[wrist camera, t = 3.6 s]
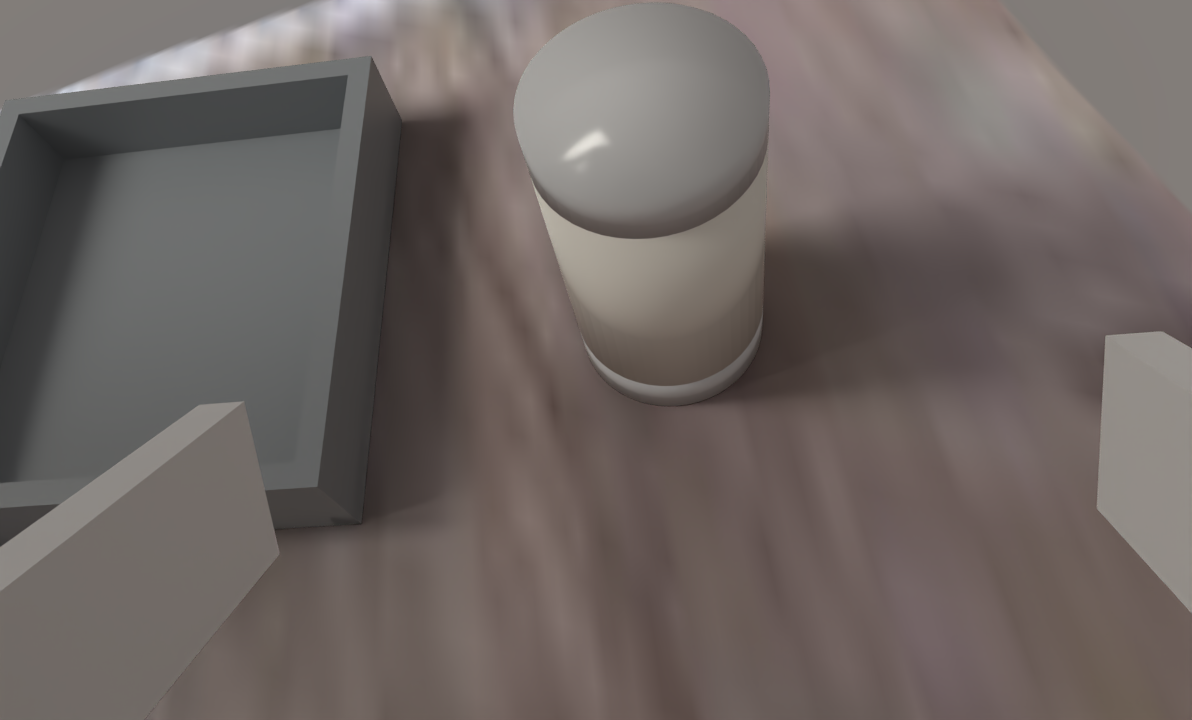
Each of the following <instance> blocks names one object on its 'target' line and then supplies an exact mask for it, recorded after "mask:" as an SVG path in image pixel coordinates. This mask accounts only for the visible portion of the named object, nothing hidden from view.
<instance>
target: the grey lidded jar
mask: <svg viewBox="0 0 1192 720" xmlns="http://www.w3.org/2000/svg"><path fill="white" fill-rule="evenodd" d="M769 104H770V88H769V78H768V73H767V69H766V66H765V64H764V62H763V59H762V57H761V55H760V53H759V52H758V50H757V49H756V47H755V45H754V44H753V43H752V42H751V41H750V40H749V39H748V37H747V36H746V35H745V34H743V33H742V32H741V31H740V30H739V29H738V28H736V27H735V26H734V25H732V24H731V23H729V22H727V21H726V20H724V19H722V18H720V17H718V16H716V15H714V14H712V13H710V12H707V11H704V10H701V9H698V8H694V7H690V6H685V5H680V4H672V3H638V4H630V5H624V6H619V7H615V8H611V9H608V10H604V11H601V12H598V13H596V14H593V15H590V16H588V17H586V18H584V19H582V20H580V21H578V22H576V23H574V24H572V25H571V26H569V27H567V28H566V29H564V30H563V31H561V32H560V33H559V34H557V35H556V36H555V37H553V38H552V39H551V40H550V41H549V42H548V43H546V44H545V45H544V46H543V47H542V48H541V49H540V50H539V52H538V53H537V54H536V55H535V56H534V58H533V59H532V60H531V61H530V63H529V65H528V66H527V68H526V69H525V71H524V73H523V75H522V77H521V80H520V82H519V84H518V87H517V91H516V94H515V99H514V108H513V113H514V124H515V129H516V133H517V137H518V140H519V143H520V146H521V149H522V152H523V155H524V158H525V162H526V165H527V168H528V171H529V174H530V177H531V180H532V183H533V186H534V190H535V193H536V196H537V199H538V202H539V205H540V208H541V211H542V214H543V217H544V221H545V224H546V227H547V230H548V233H549V236H550V239H551V242H552V245H553V249H554V252H555V255H556V258H557V261H558V264H559V267H560V270H561V273H562V277H563V280H564V283H565V286H566V289H567V292H568V295H569V298H570V301H571V304H572V308H573V311H574V314H575V317H576V320H577V323H578V326H579V329H580V332H581V336H582V339H583V342H584V345H585V348H586V351H587V354H588V356H589V359H590V361H591V363H592V365H593V366H594V368H595V370H596V371H597V372H598V374H599V375H600V376H601V377H602V379H603V380H604V381H606V382H607V383H608V384H609V385H610V386H611V387H612V388H614V389H615V390H617V391H618V392H619V393H621V394H623V395H625V396H627V397H629V398H631V399H634V400H637V401H639V402H643V403H647V404H651V405H659V406H680V405H688V404H692V403H696V402H700V401H703V400H705V399H708V398H710V397H713V396H715V395H717V394H718V393H720V392H722V391H724V390H725V389H726V388H728V387H729V386H731V385H732V384H733V383H734V382H735V381H736V380H738V379H739V378H740V377H741V376H742V375H743V373H744V372H745V371H746V370H747V368H748V367H749V366H750V364H751V362H752V361H753V359H754V357H755V355H756V353H757V350H758V348H759V344H760V341H761V335H762V325H763V294H764V262H765V230H766V199H767V167H768V135H769Z"/></svg>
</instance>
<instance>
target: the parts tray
mask: <svg viewBox="0 0 1192 720" xmlns="http://www.w3.org/2000/svg"><path fill="white" fill-rule="evenodd" d="M401 125H402V120H401V118H400V115H399V113H398V111H397V109H396V107H395V105H394V103H393V101H392V99H391V97H390V94H389V92H388V90H387V88H386V86H385V84H384V82H383V80H382V78H381V75H380V73H379V71H378V69H377V67H376V65H375V63H374V61H373V59H372V56H367V57H359V58H350V59H342V60H334V61H326V62H317V63H309V64H301V65H293V66H285V67H276V68H268V69H260V70H252V71H243V72H235V73H227V74H219V75H210V76H202V77H194V78H186V79H178V80H169V81H161V82H153V83H145V84H136V85H128V86H120V87H112V88H104V89H95V90H87V91H79V92H71V93H62V94H54V95H46V96H38V97H30V98H21V99H13V100H6V101H5V103H4V105H3V108H2V111H1V114H0V546H2V545H4V544H5V543H7V542H8V541H9V540H11V539H12V538H14V537H15V536H16V535H18V534H19V533H21V532H22V531H23V530H25V529H26V528H28V527H29V526H30V525H32V524H33V523H35V522H36V521H37V520H39V519H40V518H42V517H43V516H44V515H46V514H47V513H49V512H50V511H51V510H53V509H54V508H56V507H57V506H58V505H60V504H61V503H63V502H64V501H65V500H67V499H68V498H70V497H71V496H72V495H74V494H75V493H77V492H78V491H79V490H81V489H82V488H84V487H85V486H86V485H88V484H89V483H91V482H92V481H93V480H95V479H96V478H98V477H99V476H100V475H102V474H103V473H105V472H106V471H107V470H109V469H110V468H112V467H113V466H114V465H116V464H117V463H119V462H120V461H121V460H123V459H124V458H126V457H127V456H128V455H130V454H131V453H133V452H134V451H135V450H137V449H138V448H139V447H141V446H142V445H144V444H145V443H146V442H148V441H149V440H151V439H152V438H153V437H155V436H156V435H158V434H159V433H160V432H162V431H163V430H165V429H166V428H167V427H169V426H170V425H172V424H173V423H174V422H176V421H177V420H179V419H180V418H181V417H183V416H184V415H186V414H187V413H188V412H190V411H191V410H193V409H194V408H195V407H197V406H198V405H203V404H216V403H229V402H242V401H244V403H245V407H246V412H247V416H248V420H249V425H250V429H251V433H252V437H253V442H254V446H255V450H256V454H257V459H258V463H259V467H260V471H261V476H262V480H263V484H264V488H265V493H266V497H267V501H268V506H269V510H270V514H271V518H272V523H273V527H274V529H285V528H301V527H317V526H334V525H350V524H361V523H362V513H363V503H364V493H365V483H366V474H367V464H368V454H369V444H370V434H371V424H372V414H373V404H374V394H375V384H376V374H377V364H378V354H379V344H380V334H381V324H382V314H383V304H384V294H385V284H386V275H387V265H388V255H389V245H390V235H391V225H392V215H393V205H394V195H395V185H396V175H397V165H398V155H399V145H400V135H401Z"/></svg>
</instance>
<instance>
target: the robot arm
mask: <svg viewBox="0 0 1192 720" xmlns="http://www.w3.org/2000/svg"><path fill="white" fill-rule="evenodd" d="M1097 509H1098V510H1099V512H1100V513H1101V514H1102V515H1103V516H1104V517H1105V518H1106V519H1107V520H1108V521H1109V523H1110V524H1111V525H1112V526H1113V527H1114V528H1115V529H1116V530H1117V531H1118V532H1119V534H1120V535H1121V536H1122V537H1123V538H1124V539H1125V540H1126V541H1127V542H1128V544H1129V545H1130V546H1131V547H1132V548H1133V549H1134V550H1135V551H1136V552H1137V553H1138V555H1139V556H1140V557H1141V558H1142V559H1143V560H1144V561H1145V562H1146V563H1147V564H1148V566H1149V567H1150V568H1151V569H1152V570H1153V571H1154V572H1155V573H1156V574H1157V576H1158V577H1159V578H1160V579H1161V580H1162V581H1163V582H1164V583H1165V584H1166V585H1167V587H1168V588H1169V589H1170V590H1171V591H1172V592H1173V593H1174V594H1175V595H1176V597H1177V598H1178V599H1179V600H1180V601H1181V602H1182V603H1183V604H1184V605H1185V606H1186V608H1187V609H1188V610H1189V611H1190V612H1191V613H1192V348H1190V347H1188V346H1187V345H1185V344H1183V343H1181V342H1180V341H1178V340H1176V339H1175V338H1173V337H1171V336H1169V335H1168V334H1166V333H1164V332H1163V331H1159V332H1146V333H1132V334H1119V335H1106V337H1105V357H1104V376H1103V396H1102V415H1101V435H1100V455H1099V474H1098V494H1097ZM279 554H280V552H279V548H278V544H277V540H276V535H275V531H274V527H273V523H272V518H271V514H270V510H269V506H268V501H267V497H266V493H265V488H264V484H263V480H262V476H261V471H260V467H259V463H258V459H257V454H256V450H255V446H254V442H253V437H252V433H251V429H250V425H249V420H248V416H247V412H246V407H245V403H244V401H242V402H229V403H216V404H203V405H198V406H197V407H195V408H194V409H193V410H191V411H190V412H188V413H187V414H186V415H184V416H183V417H181V418H180V419H179V420H177V421H176V422H174V423H173V424H172V425H170V426H169V427H167V428H166V429H165V430H163V431H162V432H160V433H159V434H158V435H156V436H155V437H153V438H152V439H151V440H149V441H148V442H146V443H145V444H144V445H142V446H141V447H139V448H138V449H137V450H135V451H134V452H133V453H131V454H130V455H128V456H127V457H126V458H124V459H123V460H121V461H120V462H119V463H117V464H116V465H114V466H113V467H112V468H110V469H109V470H107V471H106V472H105V473H103V474H102V475H100V476H99V477H98V478H96V479H95V480H93V481H92V482H91V483H89V484H88V485H86V486H85V487H84V488H82V489H81V490H79V491H78V492H77V493H75V494H74V495H72V496H71V497H70V498H68V499H67V500H65V501H64V502H63V503H61V504H60V505H58V506H57V507H56V508H54V509H53V510H51V511H50V512H49V513H47V514H46V515H44V516H43V517H42V518H40V519H39V520H37V521H36V522H35V523H33V524H32V525H30V526H29V527H28V528H26V529H25V530H23V531H22V532H21V533H19V534H18V535H16V536H15V537H14V538H12V539H11V540H9V541H8V542H7V543H5V544H4V545H2V546H1V547H0V720H144V719H145V718H146V717H147V716H148V714H149V713H150V712H151V711H152V710H153V708H154V707H155V706H156V705H157V703H158V702H159V701H160V700H161V699H162V697H163V696H164V695H165V694H166V692H167V691H168V690H169V689H170V688H171V686H172V685H173V684H174V683H175V681H176V680H177V679H178V678H179V677H180V675H181V674H182V673H183V672H184V670H185V669H186V668H187V667H188V666H189V664H190V663H191V662H192V661H193V659H194V658H195V657H196V656H197V655H198V653H199V652H200V651H201V650H202V648H203V647H204V646H205V645H206V644H207V642H208V641H209V640H210V639H211V637H212V636H213V635H214V634H215V633H216V631H217V630H218V629H219V628H220V626H221V625H222V624H223V623H224V622H225V620H226V619H227V618H228V617H229V615H230V614H231V613H232V612H233V611H234V609H235V608H236V607H237V606H238V604H239V603H240V602H241V601H242V600H243V598H244V597H245V596H246V595H247V593H248V592H249V591H250V590H251V589H252V587H253V586H254V585H255V584H256V582H257V581H258V580H259V579H260V578H261V576H262V575H263V574H264V573H265V571H266V570H267V569H268V568H269V567H270V565H271V564H272V563H273V562H274V560H275V559H276V558H277V557H278V556H279Z"/></svg>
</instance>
